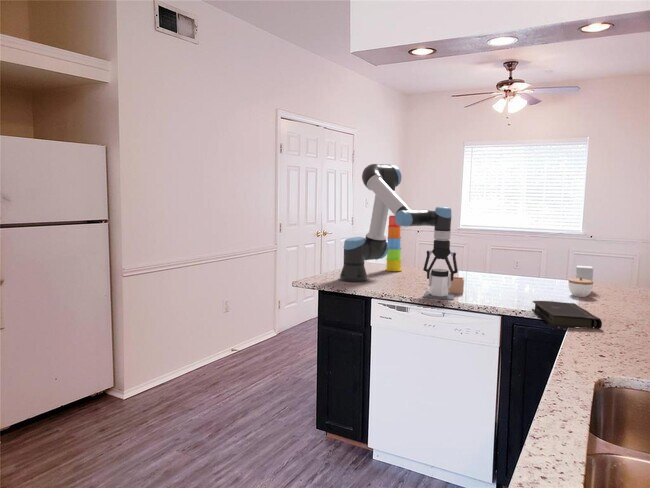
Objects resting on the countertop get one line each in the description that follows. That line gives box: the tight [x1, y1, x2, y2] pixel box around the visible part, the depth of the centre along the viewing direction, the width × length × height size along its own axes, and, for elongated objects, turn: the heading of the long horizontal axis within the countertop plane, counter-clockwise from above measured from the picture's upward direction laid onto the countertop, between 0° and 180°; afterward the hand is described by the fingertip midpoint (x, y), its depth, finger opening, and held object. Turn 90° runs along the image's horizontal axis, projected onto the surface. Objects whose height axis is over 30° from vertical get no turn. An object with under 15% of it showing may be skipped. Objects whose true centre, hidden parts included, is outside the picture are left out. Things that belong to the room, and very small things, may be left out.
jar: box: [429, 268, 450, 297], centre depth 225 cm, size 9×8×12 cm
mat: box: [422, 290, 456, 301], centre depth 226 cm, size 14×14×1 cm
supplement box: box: [575, 265, 594, 292], centre depth 244 cm, size 7×7×13 cm
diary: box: [531, 300, 603, 329], centre depth 188 cm, size 19×25×5 cm
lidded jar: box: [568, 277, 594, 298], centre depth 232 cm, size 11×11×9 cm
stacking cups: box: [385, 215, 403, 272], centre depth 293 cm, size 10×10×35 cm
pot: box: [448, 276, 465, 295], centre depth 235 cm, size 7×7×7 cm
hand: (439, 286), depth 226 cm, fingers open, 8 cm apart
